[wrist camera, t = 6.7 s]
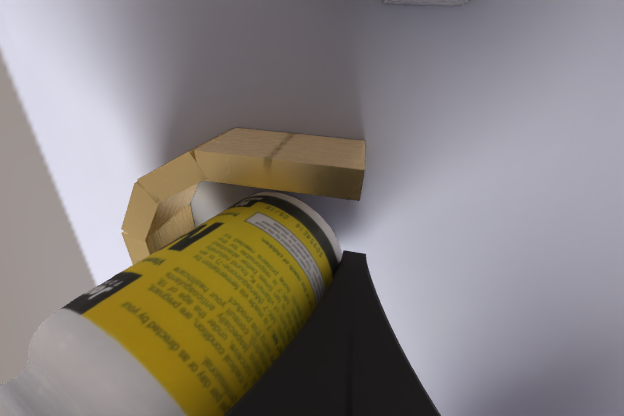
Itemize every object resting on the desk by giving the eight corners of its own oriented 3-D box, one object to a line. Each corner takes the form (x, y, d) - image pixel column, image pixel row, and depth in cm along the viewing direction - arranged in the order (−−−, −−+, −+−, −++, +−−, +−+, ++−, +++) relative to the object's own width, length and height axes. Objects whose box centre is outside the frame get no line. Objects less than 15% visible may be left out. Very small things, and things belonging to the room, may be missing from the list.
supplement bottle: (267, 159, 9) (-344, 444, 2) (375, 259, 9) (59, 944, 2) (221, 238, 12) (-99, 464, 5) (301, 314, 11) (72, 661, 5)
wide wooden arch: (365, 140, 8) (364, 170, 6) (338, 316, 12) (332, 371, 10) (152, 119, 9) (87, 137, 7) (192, 288, 13) (157, 333, 11)
